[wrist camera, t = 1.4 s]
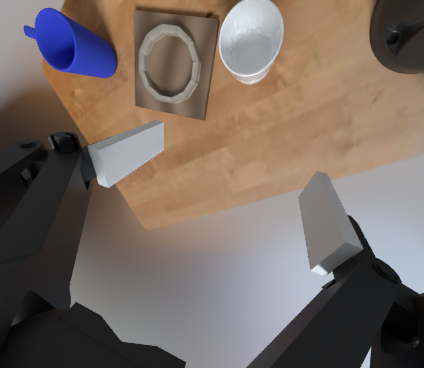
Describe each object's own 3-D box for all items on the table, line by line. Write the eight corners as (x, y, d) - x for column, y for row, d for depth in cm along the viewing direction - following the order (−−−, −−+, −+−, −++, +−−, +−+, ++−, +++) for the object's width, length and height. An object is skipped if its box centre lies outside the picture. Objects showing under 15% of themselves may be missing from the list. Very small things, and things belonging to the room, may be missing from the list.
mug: (74, 25, 34) (10, -7, 25) (123, 43, 33) (74, 15, 24) (76, 70, 38) (20, 55, 29) (121, 87, 37) (77, 77, 28)
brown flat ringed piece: (219, 22, 28) (216, 14, 26) (205, 120, 35) (201, 120, 32) (138, 13, 31) (128, 4, 28) (139, 106, 37) (130, 105, 35)
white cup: (221, 68, 31) (206, 48, 22) (251, 23, 27) (249, -23, 18) (251, 97, 31) (249, 89, 22) (285, 57, 28) (298, 28, 19)
